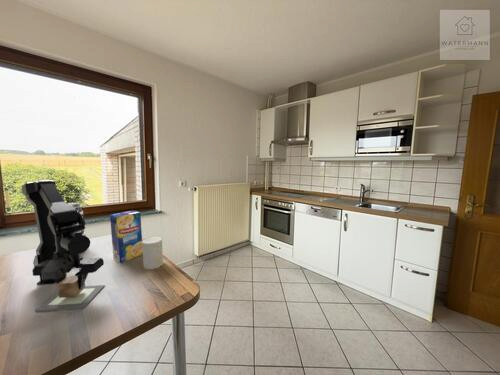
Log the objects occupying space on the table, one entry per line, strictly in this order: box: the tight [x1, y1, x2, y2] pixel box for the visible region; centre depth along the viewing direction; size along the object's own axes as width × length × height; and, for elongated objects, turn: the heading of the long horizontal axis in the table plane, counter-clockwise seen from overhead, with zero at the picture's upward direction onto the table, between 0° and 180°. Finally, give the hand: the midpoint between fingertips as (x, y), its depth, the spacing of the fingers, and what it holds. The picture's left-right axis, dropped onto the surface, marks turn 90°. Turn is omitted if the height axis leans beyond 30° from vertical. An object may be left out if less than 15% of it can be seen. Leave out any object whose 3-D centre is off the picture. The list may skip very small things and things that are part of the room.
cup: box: [142, 236, 164, 270], centre depth 95 cm, size 8×8×12 cm
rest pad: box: [34, 284, 106, 313], centre depth 72 cm, size 14×12×1 cm
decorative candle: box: [67, 202, 87, 237], centre depth 110 cm, size 9×9×25 cm
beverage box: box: [109, 210, 143, 263], centre depth 102 cm, size 7×11×22 cm, turn 145°
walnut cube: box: [56, 274, 86, 298], centre depth 72 cm, size 5×5×5 cm
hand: (72, 289), depth 72 cm, fingers open, 5 cm apart
